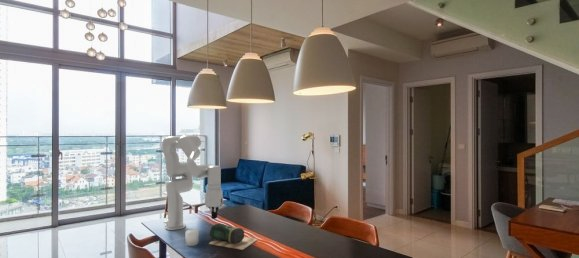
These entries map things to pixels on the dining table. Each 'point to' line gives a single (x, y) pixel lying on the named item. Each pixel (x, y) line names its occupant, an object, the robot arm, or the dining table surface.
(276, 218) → the dining table surface
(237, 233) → the coffee jar
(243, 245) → the beige striped cloth
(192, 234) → the white rounded block
